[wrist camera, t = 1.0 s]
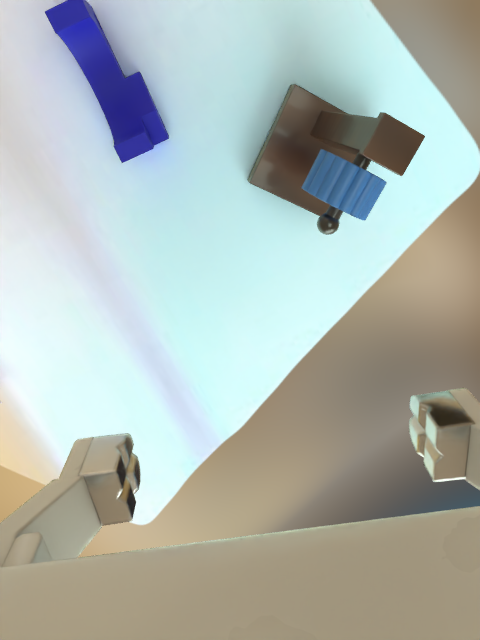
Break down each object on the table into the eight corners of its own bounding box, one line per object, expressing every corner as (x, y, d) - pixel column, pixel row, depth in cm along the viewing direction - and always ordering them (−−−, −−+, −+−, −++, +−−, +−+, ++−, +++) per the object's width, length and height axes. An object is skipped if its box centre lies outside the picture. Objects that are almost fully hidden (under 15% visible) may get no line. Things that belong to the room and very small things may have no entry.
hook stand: (326, 218, 52) (389, 270, 37) (246, 181, 49) (280, 220, 34) (373, 130, 48) (464, 148, 33) (291, 84, 45) (350, 80, 30)
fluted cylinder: (350, 210, 42) (376, 227, 37) (293, 182, 40) (312, 196, 35) (369, 175, 41) (399, 187, 36) (312, 145, 39) (334, 153, 34)
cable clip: (168, 135, 46) (168, 141, 40) (127, 154, 46) (122, 162, 41) (107, -1, 40) (97, -15, 35) (61, 22, 40) (44, 11, 35)
